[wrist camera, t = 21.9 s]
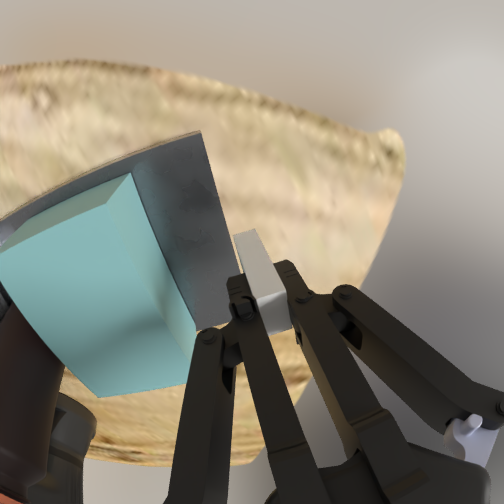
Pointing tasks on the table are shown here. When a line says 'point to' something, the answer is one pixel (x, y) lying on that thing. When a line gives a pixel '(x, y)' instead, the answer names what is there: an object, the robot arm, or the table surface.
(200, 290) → the vise base
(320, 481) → the robot arm
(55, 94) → the table surface
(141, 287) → the block
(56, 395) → the vinegar
